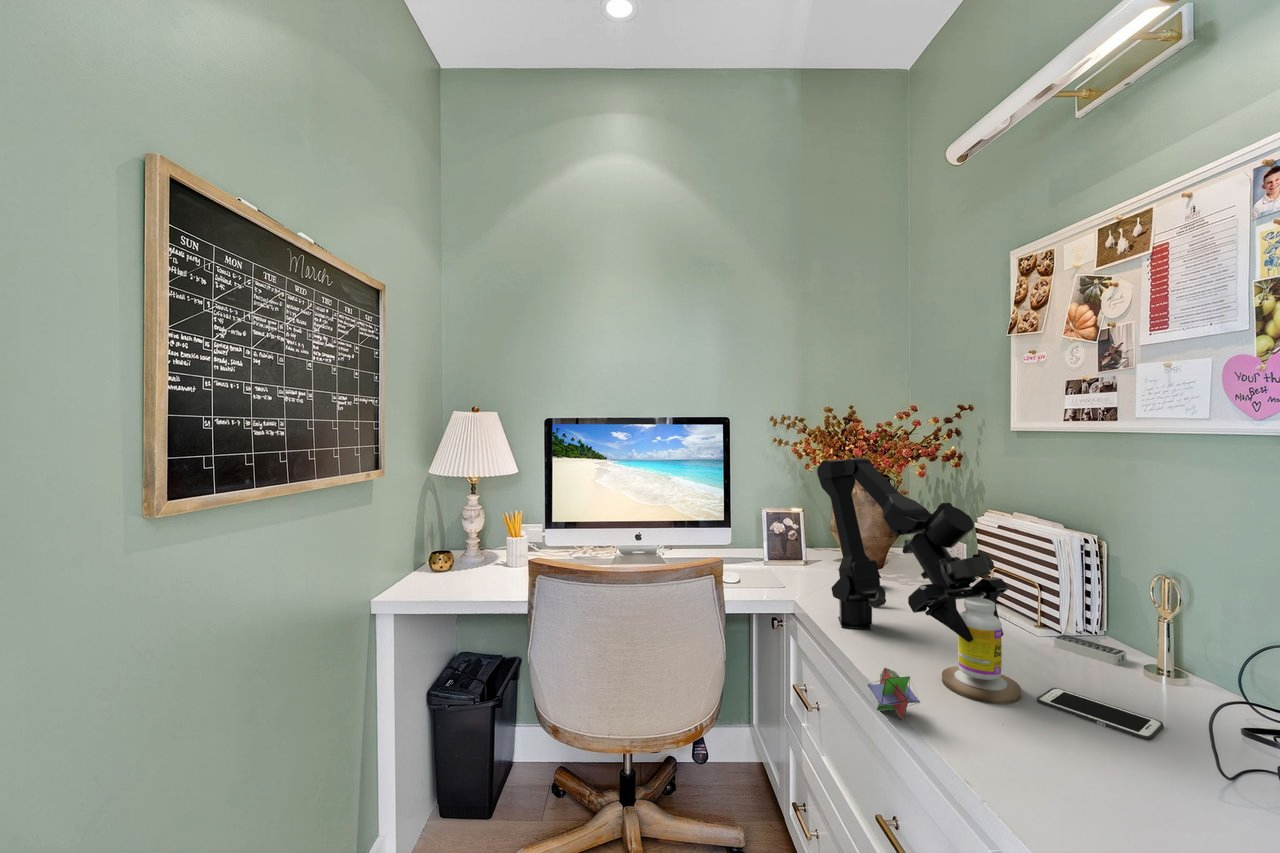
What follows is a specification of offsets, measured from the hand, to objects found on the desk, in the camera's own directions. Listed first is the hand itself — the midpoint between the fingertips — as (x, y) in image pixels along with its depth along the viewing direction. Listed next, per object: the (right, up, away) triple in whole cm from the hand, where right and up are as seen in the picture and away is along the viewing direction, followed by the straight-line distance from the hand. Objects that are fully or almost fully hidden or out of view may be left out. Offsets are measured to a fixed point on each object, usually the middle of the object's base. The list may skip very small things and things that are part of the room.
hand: (986, 638), depth 98 cm
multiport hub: (+31, -10, +16) cm, 36 cm away
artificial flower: (+2, -10, +57) cm, 57 cm away
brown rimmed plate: (0, -9, +1) cm, 9 cm away
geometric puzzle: (-20, -9, -8) cm, 23 cm away
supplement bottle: (0, -7, +1) cm, 7 cm away
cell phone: (+13, -10, -8) cm, 18 cm away
